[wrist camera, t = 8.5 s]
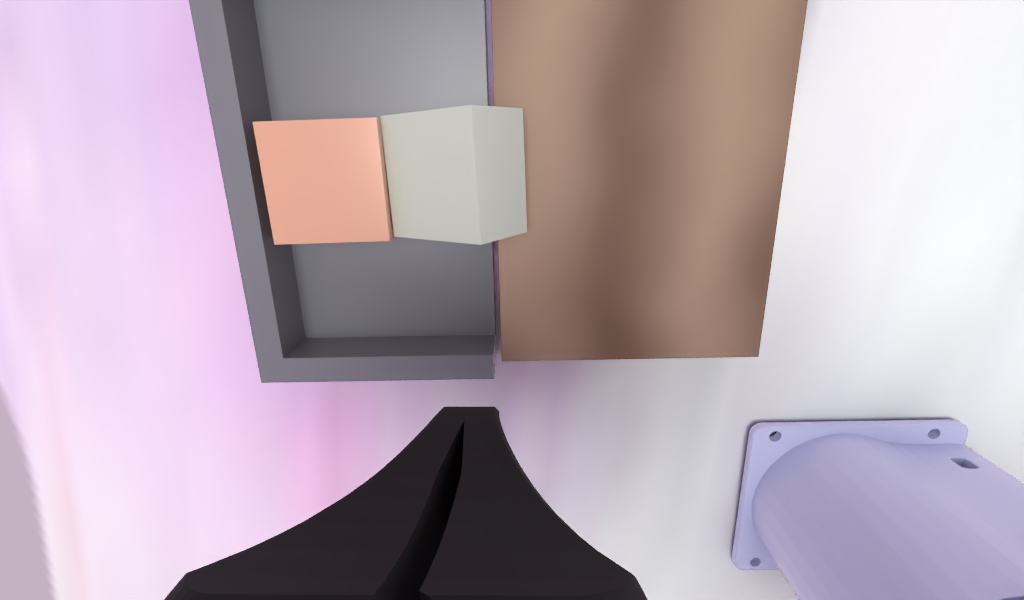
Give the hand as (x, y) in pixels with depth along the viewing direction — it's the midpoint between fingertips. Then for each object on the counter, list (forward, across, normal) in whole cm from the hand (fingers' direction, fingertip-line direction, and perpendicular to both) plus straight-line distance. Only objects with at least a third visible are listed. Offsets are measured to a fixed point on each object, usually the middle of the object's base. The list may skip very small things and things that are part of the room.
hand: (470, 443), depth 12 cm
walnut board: (+9, -5, -6) cm, 12 cm away
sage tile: (+8, 0, -6) cm, 10 cm away
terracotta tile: (+9, +5, -6) cm, 12 cm away
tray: (+9, +4, -6) cm, 12 cm away
